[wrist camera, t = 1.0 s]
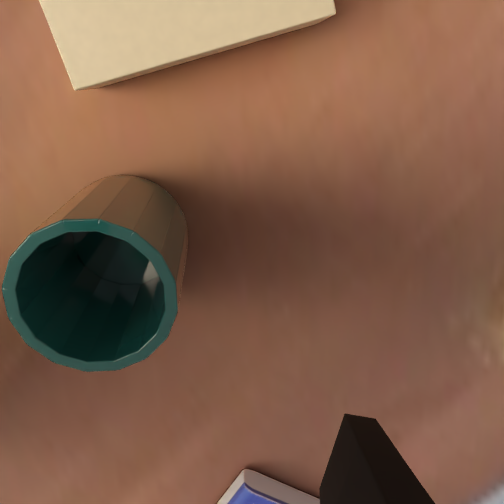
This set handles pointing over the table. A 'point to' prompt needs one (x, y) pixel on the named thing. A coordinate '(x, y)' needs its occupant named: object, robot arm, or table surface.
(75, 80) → the block
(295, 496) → the blue book
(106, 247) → the cup
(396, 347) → the table surface
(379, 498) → the robot arm
